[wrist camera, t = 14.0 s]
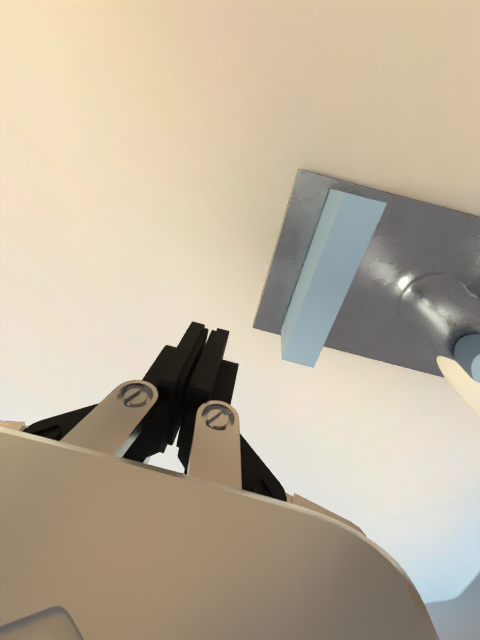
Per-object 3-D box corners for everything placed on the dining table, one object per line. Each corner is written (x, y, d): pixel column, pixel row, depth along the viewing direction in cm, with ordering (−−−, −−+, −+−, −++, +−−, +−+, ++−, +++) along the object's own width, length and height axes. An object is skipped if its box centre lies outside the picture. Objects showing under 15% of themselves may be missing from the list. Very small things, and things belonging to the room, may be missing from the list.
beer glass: (393, 337, 30) (485, 465, 17) (393, 276, 27) (503, 372, 14) (467, 327, 29) (630, 458, 16) (475, 261, 26) (684, 353, 13)
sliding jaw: (280, 329, 31) (281, 359, 26) (330, 188, 24) (344, 192, 19) (307, 336, 31) (313, 367, 26) (364, 197, 24) (386, 203, 19)
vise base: (253, 321, 33) (248, 358, 26) (297, 169, 25) (305, 167, 19) (469, 377, 33) (517, 428, 26) (576, 243, 26) (681, 267, 19)
